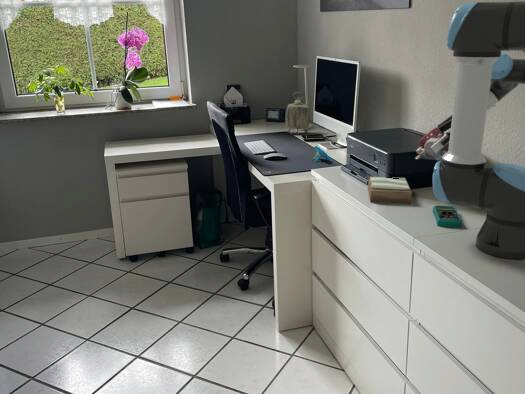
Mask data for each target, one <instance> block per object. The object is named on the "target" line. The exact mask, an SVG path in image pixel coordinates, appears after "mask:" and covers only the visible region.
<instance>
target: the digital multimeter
mask: <svg viewBox="0 0 525 394" xmlns="http://www.w3.org/2000/svg"><path fill="white" fill-rule="evenodd" d="M432 213H433V216H434V217H435V221H436V225H437V227H443V228H455V229H458V228H459V229H461V228H462V227H463V220H462V219H461V217H460V215H459V213H458V210H457V208H456V207H455V206H453V205H452V206H450V205H434V206H433V207H432Z"/></svg>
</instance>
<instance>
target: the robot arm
mask: <svg viewBox="0 0 525 394" xmlns="http://www.w3.org/2000/svg"><path fill="white" fill-rule="evenodd" d="M446 38H447V39H446V41H447V42H446V46H447V49H448V50H450V51H453V52H452V53H453V55H452V58H453V59H454V60H455V62H456V63H457V71H456V72H457V73H456V79H455V89H454V97H453V106H452V114H451V115H449V116H448V117H447V118H446V119H444V120H443V121H442V122H440V123H439V124H438V125H437V126H436V127H437V128H439V130H440V131H441V132H442V133H443V135H444V136H443V137H442V138H441V139H440V140H438V141H437V142H436V143H435V144H434V145H433V146H431V148H432V149H433V151H434V152H435V153H437V152H438V151H439V150H441V149H442V148H443V147H444V146H445V145H446V144H448V143H449V150H448V152H447V153H445V154H444V155H443V156H442V160H437V162H436V163H435V165H434V167H433V173H432V191H433V195H434V196H435V198H436V200H438V201H439V202H443V203H445V204H450V205H457V206H463V207H468V208H469V207H470V208H475V209H482V210H486V217H485V220H484V222H483V224H482V225H481V227H480V229H479V231H478V232H477V235H476V237H475V246H476V247H477V249H479V250H480V251H481V252H484V253H485V254H488V255H491V256H494V257H498V258H503V259H509V260H525V166H522V165H519V164H514V163H508V162H497V163H494V165H493V166H492V167H488V166H486V165H487V159H486V158H485V156H484V155H483V154H482V150H483V143H484V136H485V135H484V134H485V126H486V122H487V121H486V120H487V113H488V112H487V111H488V110H491V109H492V108H493V107H496V106H497V104H498V103H499V102H500V101H501V100H502V99H503V98H505V97H506V96H507V95H509V93H510V92H512V91H513V90H514V89H515V88H517V87H518V86H519V85H523V84H524V85H525V59H524V58H512V57H511V56H510V55H508V54H506V53H502V52H503V51H505V52H507V51H508V52H509V51H518V52H519V51H520V52H523V53H525V1H522V0H521V1H519V0H518V1H500V2H499V1H496V2H494V1H492V2H491V1H489V2H488V1H487V2H485V1H483V2H481V1H480V2H479V1H477V2H471V3H470V2H469V3H464V4H460V6H459V7H457V8H456V10H455V12H454V14H453V16H452V18H451V20H450V24H449V28H448V31H447V37H446ZM448 130H449V132H448ZM430 135H431V136H433V134H430ZM427 138H428V137H427ZM429 140H430V139H429ZM427 141H428V140H426V142H427Z"/></svg>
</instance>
